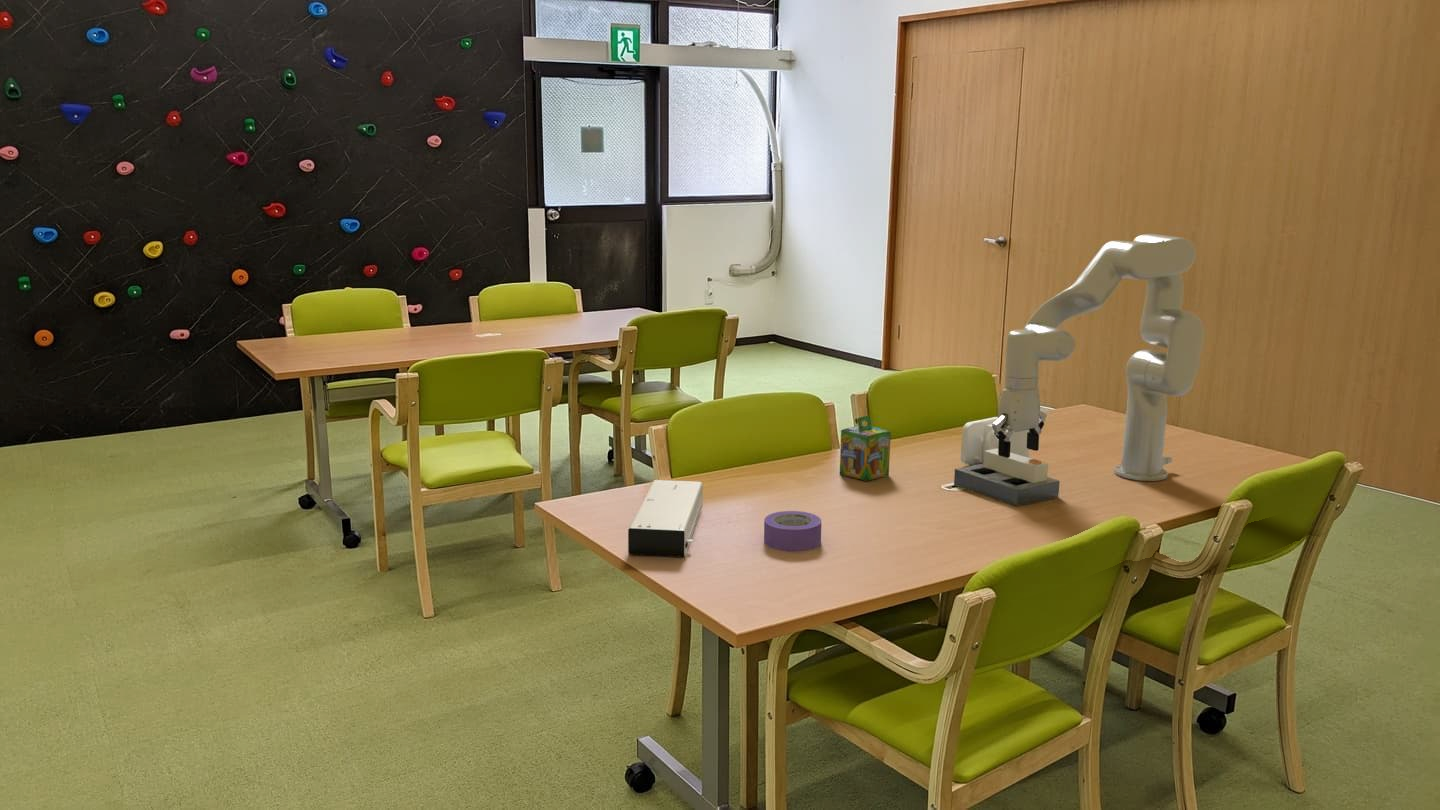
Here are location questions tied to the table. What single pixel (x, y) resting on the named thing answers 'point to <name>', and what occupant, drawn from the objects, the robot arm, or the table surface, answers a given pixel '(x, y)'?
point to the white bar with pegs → (1016, 466)
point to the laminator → (666, 519)
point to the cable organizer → (988, 441)
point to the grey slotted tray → (1005, 486)
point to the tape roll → (792, 531)
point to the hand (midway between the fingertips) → (1018, 452)
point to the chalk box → (865, 451)
